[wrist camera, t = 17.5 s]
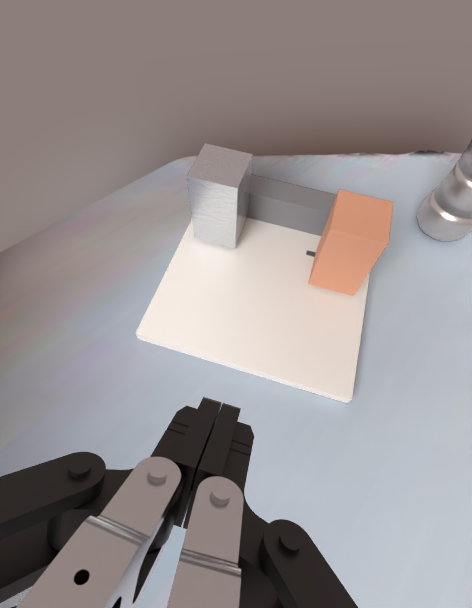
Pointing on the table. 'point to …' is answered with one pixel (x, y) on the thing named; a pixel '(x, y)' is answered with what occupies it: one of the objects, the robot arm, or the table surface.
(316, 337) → the plate
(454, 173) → the plastic bottle
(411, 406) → the table surface
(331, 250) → the tall salmon pillar
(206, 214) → the brushed metal pillar
